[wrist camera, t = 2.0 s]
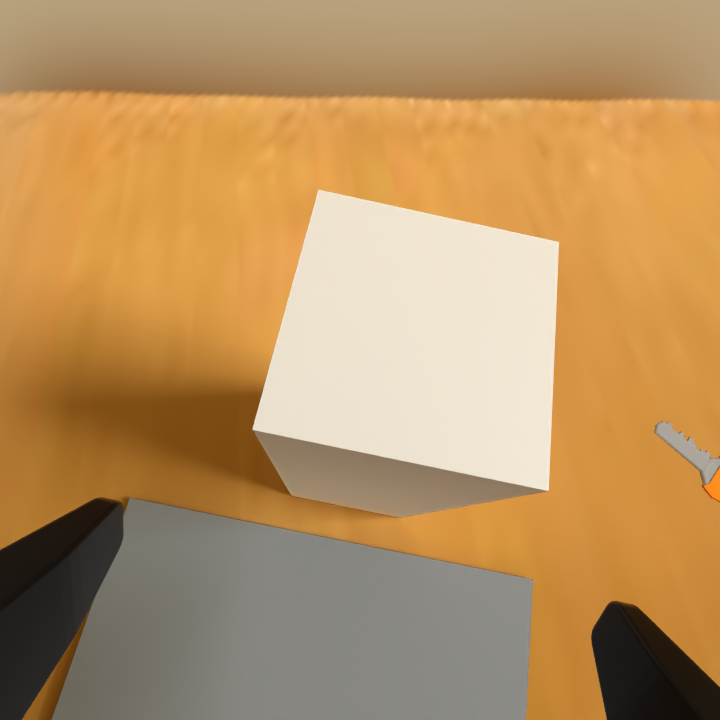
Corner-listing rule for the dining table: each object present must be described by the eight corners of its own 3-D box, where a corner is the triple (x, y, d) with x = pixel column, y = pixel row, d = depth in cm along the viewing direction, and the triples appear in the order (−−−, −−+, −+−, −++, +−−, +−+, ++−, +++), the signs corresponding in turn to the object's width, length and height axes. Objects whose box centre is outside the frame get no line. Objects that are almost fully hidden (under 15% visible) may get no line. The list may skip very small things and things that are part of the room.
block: (399, 517, 19) (548, 491, 7) (291, 495, 19) (252, 429, 7) (415, 412, 21) (558, 242, 9) (315, 391, 21) (318, 190, 9)
